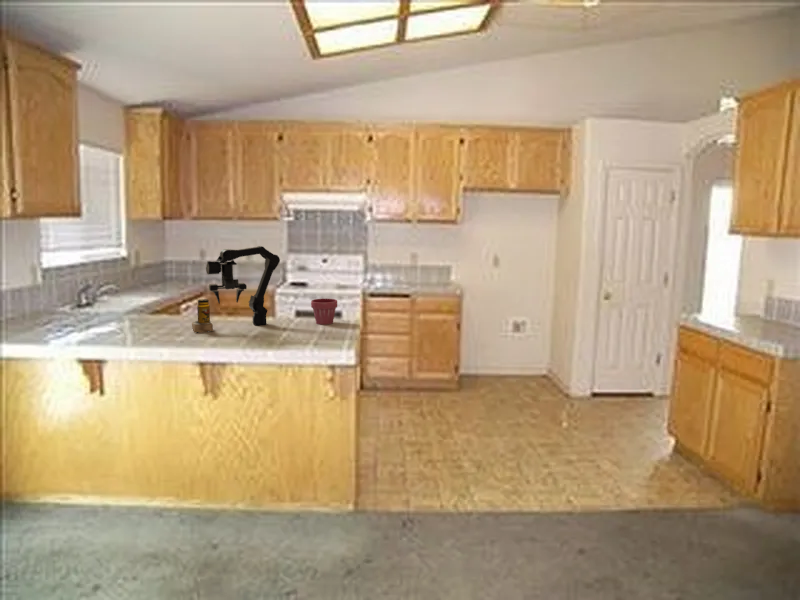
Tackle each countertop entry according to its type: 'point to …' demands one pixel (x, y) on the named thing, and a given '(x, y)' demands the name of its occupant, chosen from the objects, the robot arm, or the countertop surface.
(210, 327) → the base block
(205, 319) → the condiment
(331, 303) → the plant pot
